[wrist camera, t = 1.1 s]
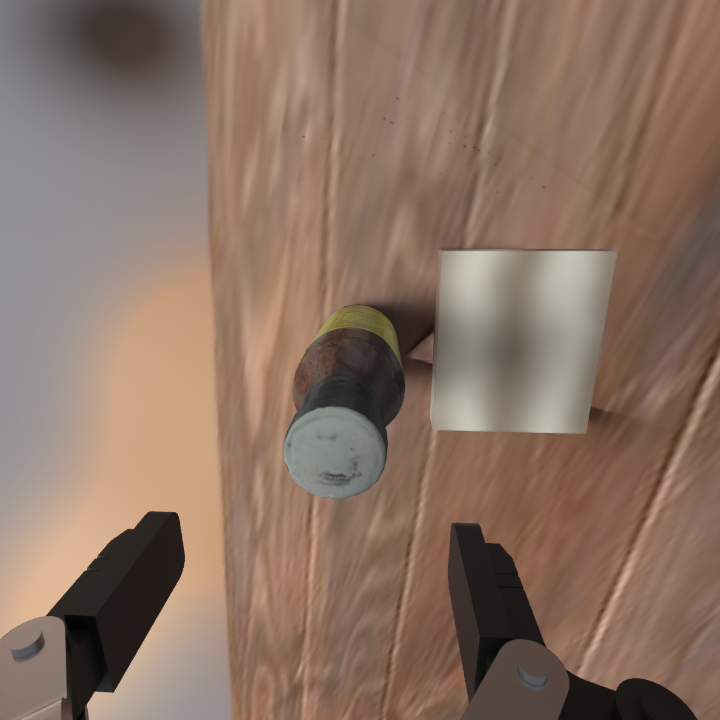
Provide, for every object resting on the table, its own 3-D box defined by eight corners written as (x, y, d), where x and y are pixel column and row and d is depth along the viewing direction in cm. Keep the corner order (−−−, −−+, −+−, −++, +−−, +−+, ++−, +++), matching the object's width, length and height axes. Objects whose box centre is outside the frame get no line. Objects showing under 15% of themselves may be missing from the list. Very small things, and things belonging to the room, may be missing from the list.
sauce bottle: (371, 387, 37) (354, 562, 18) (307, 349, 36) (219, 489, 17) (414, 323, 35) (446, 443, 16) (348, 282, 34) (299, 356, 15)
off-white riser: (597, 248, 33) (617, 251, 30) (570, 417, 37) (585, 433, 34) (437, 248, 33) (442, 250, 31) (429, 414, 38) (432, 429, 35)
